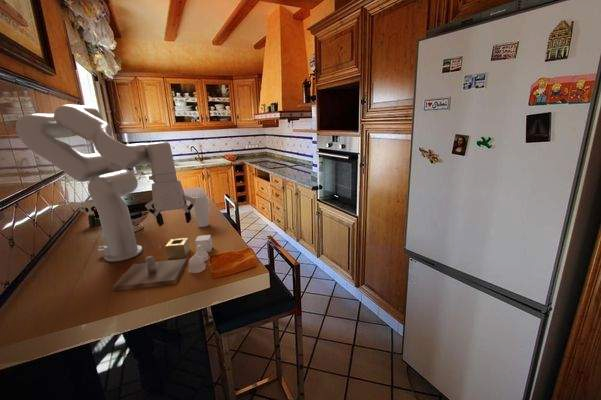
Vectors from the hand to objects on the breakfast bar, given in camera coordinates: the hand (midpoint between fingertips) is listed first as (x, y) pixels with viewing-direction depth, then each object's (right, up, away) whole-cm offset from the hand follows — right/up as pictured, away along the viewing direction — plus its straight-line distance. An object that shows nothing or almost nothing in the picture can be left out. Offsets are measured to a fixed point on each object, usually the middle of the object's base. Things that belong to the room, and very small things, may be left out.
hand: (175, 223), depth 104 cm
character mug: (-60, -4, +44) cm, 75 cm away
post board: (-2, -16, -11) cm, 20 cm away
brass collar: (0, -12, +3) cm, 12 cm away
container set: (+10, -13, -2) cm, 17 cm away
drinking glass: (-1, -4, +32) cm, 33 cm away
